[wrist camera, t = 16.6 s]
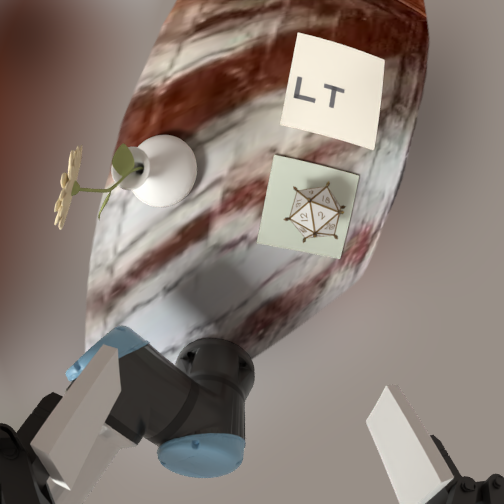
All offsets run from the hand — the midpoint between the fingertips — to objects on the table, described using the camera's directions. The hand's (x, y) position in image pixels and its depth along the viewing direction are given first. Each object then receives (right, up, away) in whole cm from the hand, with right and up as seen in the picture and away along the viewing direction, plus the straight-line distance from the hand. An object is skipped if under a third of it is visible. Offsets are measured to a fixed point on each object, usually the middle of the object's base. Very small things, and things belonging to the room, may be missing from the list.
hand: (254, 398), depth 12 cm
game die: (+9, +13, +32) cm, 36 cm away
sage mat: (+9, +14, +32) cm, 36 cm away
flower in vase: (-15, +19, +31) cm, 39 cm away
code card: (+14, +34, +27) cm, 45 cm away
